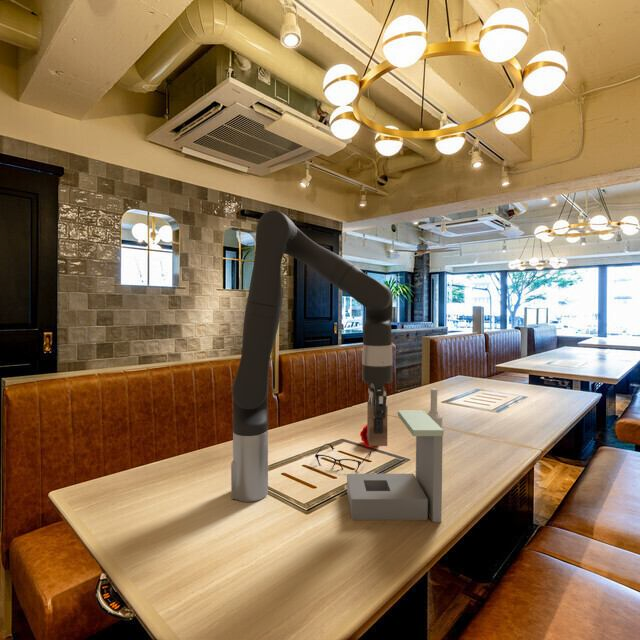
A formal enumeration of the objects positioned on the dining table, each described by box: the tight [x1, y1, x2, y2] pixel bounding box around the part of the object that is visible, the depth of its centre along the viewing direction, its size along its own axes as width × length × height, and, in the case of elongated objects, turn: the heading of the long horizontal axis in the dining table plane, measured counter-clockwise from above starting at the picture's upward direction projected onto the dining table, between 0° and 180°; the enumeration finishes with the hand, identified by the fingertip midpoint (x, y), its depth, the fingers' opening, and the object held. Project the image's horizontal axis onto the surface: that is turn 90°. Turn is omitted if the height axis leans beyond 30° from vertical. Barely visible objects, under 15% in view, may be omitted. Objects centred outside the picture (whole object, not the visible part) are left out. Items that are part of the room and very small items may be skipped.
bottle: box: [426, 387, 443, 429], centre depth 122 cm, size 5×5×25 cm
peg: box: [366, 400, 388, 447], centre depth 99 cm, size 4×4×10 cm
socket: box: [346, 473, 428, 521], centre depth 100 cm, size 18×14×5 cm
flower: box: [359, 424, 374, 448], centre depth 144 cm, size 8×8×8 cm
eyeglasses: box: [314, 443, 373, 472], centre depth 129 cm, size 16×16×4 cm
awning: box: [397, 409, 444, 523], centre depth 100 cm, size 7×17×22 cm, turn 1°
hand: (376, 429), depth 99 cm, fingers closed on peg, 4 cm apart
